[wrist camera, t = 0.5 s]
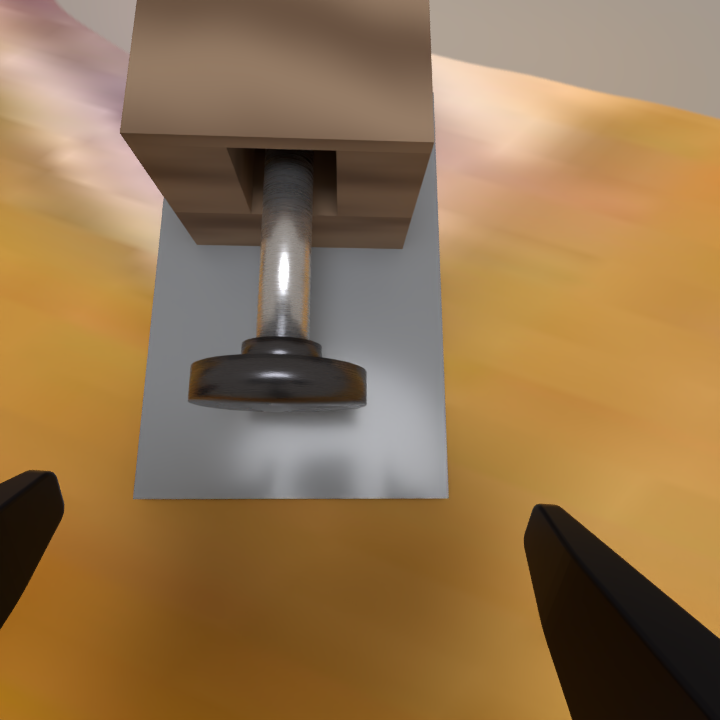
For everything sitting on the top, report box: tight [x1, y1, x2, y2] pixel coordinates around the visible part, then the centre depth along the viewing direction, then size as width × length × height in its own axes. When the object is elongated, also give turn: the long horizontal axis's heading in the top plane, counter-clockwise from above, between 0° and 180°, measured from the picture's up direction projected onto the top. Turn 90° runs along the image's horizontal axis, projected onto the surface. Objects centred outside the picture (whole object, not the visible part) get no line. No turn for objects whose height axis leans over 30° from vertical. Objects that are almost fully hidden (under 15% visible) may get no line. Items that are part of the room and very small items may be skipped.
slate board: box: [133, 95, 449, 499], centre depth 24 cm, size 23×15×1 cm, turn 0°
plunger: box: [188, 149, 367, 412], centre depth 18 cm, size 11×6×6 cm, turn 0°
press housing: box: [120, 0, 434, 249], centre depth 21 cm, size 10×11×8 cm
